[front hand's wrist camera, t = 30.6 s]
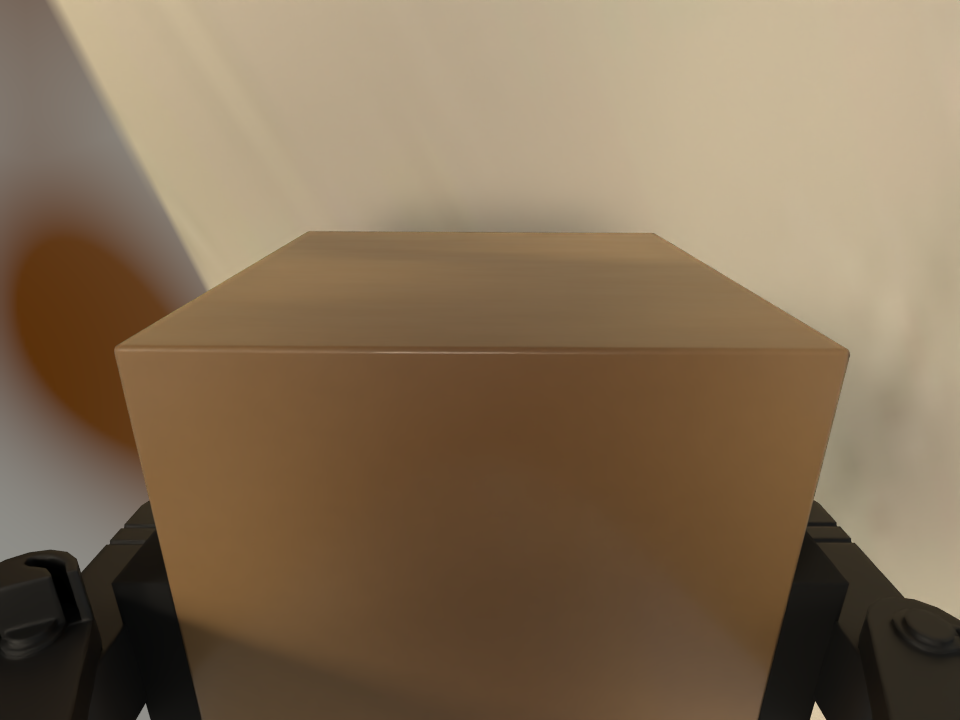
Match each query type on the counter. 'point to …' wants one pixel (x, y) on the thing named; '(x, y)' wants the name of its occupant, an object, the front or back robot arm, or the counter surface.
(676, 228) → the counter surface
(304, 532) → the block
